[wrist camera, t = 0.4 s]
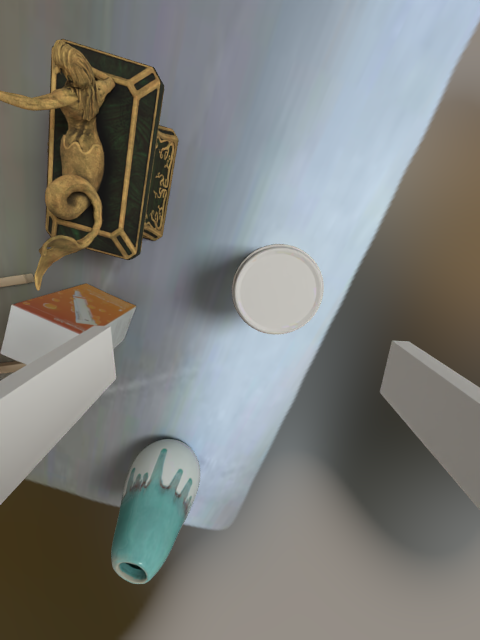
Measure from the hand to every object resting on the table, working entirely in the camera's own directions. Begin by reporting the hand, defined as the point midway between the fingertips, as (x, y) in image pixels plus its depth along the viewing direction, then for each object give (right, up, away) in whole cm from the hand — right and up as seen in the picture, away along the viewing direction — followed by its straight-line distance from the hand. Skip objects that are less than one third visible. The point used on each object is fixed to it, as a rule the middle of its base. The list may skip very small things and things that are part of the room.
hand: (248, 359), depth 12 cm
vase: (-13, -23, +36) cm, 44 cm away
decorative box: (-14, +19, +23) cm, 32 cm away
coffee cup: (+4, +8, +25) cm, 27 cm away
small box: (-21, +3, +28) cm, 35 cm away
